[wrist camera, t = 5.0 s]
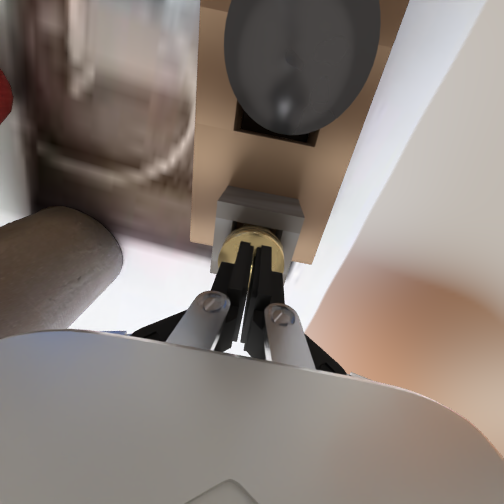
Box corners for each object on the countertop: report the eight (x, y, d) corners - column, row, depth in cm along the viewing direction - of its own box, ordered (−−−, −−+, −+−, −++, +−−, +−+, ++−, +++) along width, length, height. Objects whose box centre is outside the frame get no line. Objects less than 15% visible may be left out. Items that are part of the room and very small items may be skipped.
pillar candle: (12, 211, 23) (-329, 333, 10) (98, 199, 21) (-167, 322, 8) (65, 287, 28) (-117, 436, 15) (139, 281, 26) (9, 440, 13)
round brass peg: (233, 203, 15) (221, 229, 11) (287, 213, 15) (292, 242, 11) (227, 249, 17) (214, 285, 13) (275, 259, 17) (275, 296, 13)
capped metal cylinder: (259, 54, 15) (234, -89, 5) (317, 66, 15) (413, -49, 5) (249, 121, 17) (216, 120, 7) (301, 132, 17) (344, 146, 7)
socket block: (220, -20, 14) (173, -151, 7) (380, 15, 14) (478, -80, 7) (203, 222, 22) (172, 265, 15) (305, 242, 22) (319, 293, 15)
